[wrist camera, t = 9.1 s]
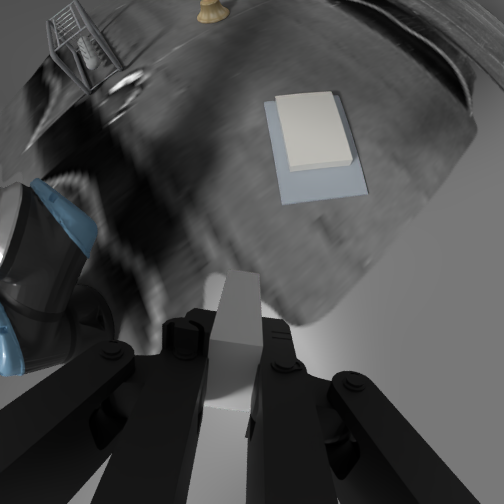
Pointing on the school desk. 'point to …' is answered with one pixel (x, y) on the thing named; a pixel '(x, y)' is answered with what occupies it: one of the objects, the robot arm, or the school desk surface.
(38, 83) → the school desk surface
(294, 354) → the robot arm
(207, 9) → the hand bell
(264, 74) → the school desk surface
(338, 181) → the mat
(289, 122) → the tile
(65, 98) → the school desk surface
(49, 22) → the newton's cradle
